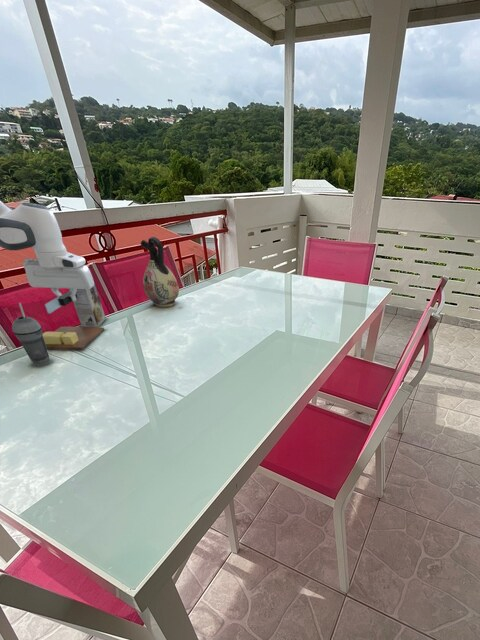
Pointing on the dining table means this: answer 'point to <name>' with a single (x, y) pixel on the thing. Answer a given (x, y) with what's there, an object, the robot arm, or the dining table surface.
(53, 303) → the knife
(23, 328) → the beverage cup
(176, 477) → the dining table surface
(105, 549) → the dining table surface
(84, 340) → the cutting board
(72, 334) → the butter slice
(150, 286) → the ceramic jug
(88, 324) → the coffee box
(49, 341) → the butter block
